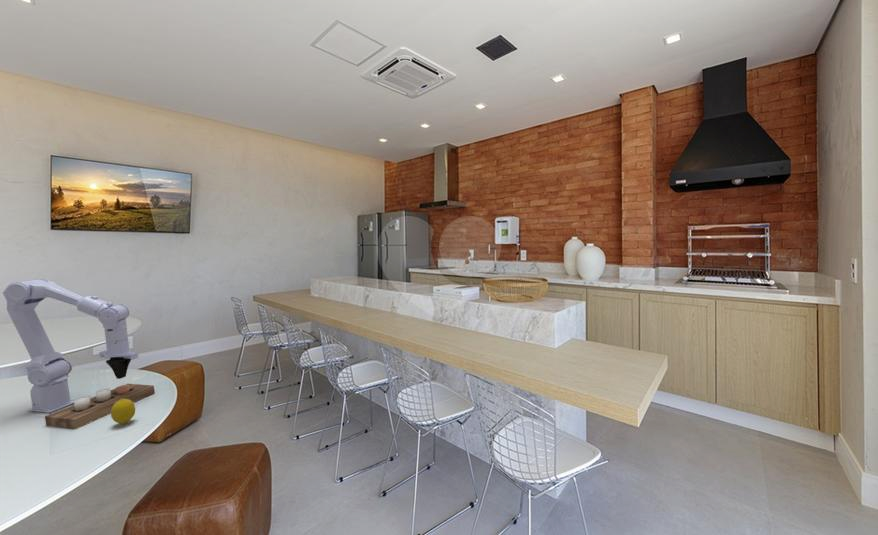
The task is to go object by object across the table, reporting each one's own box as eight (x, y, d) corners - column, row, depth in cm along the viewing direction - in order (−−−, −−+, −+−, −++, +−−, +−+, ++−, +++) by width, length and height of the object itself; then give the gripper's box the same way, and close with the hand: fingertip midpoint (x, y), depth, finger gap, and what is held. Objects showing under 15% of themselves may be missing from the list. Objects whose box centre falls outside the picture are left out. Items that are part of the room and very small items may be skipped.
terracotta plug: (114, 396, 123) (113, 388, 123) (125, 392, 127) (124, 384, 127) (122, 397, 123) (121, 389, 122) (133, 392, 126) (132, 384, 126)
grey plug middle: (93, 401, 117) (92, 393, 117) (105, 396, 121) (104, 388, 121) (102, 402, 117) (101, 393, 116) (114, 397, 120) (113, 389, 120)
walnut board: (46, 425, 109) (44, 416, 108) (128, 391, 132) (128, 383, 132) (75, 429, 106) (74, 419, 106) (154, 393, 130) (153, 385, 129)
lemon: (122, 429, 105) (119, 403, 104) (107, 427, 106) (104, 402, 106) (141, 419, 111) (138, 395, 110) (127, 418, 112) (124, 394, 111)
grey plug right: (71, 410, 112) (70, 401, 111) (85, 405, 115) (84, 396, 115) (80, 411, 111) (79, 402, 111) (93, 406, 114) (92, 397, 114)
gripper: (87, 342, 121) (92, 380, 122) (120, 344, 117) (125, 383, 119) (110, 336, 127) (114, 372, 129) (142, 338, 124) (146, 375, 126)
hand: (121, 377), depth 124 cm, fingers closed
